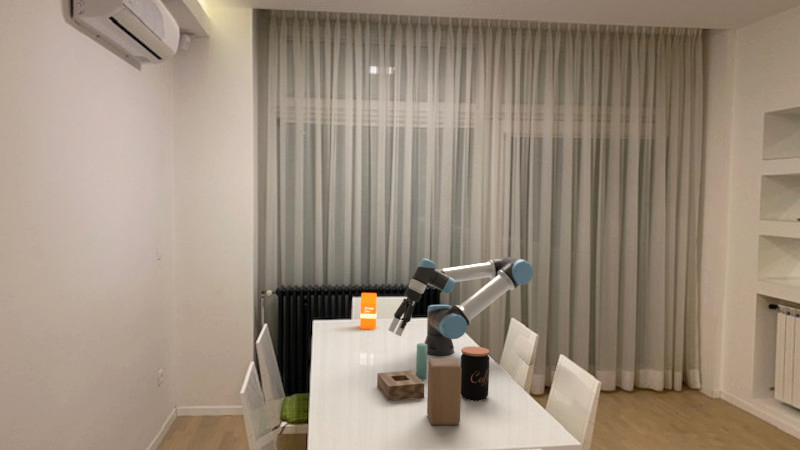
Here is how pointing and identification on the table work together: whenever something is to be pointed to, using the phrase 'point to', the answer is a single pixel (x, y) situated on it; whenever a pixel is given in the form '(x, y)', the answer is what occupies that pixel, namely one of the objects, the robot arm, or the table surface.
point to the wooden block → (444, 391)
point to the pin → (421, 361)
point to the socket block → (400, 385)
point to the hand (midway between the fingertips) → (394, 333)
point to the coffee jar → (474, 373)
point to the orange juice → (368, 311)
